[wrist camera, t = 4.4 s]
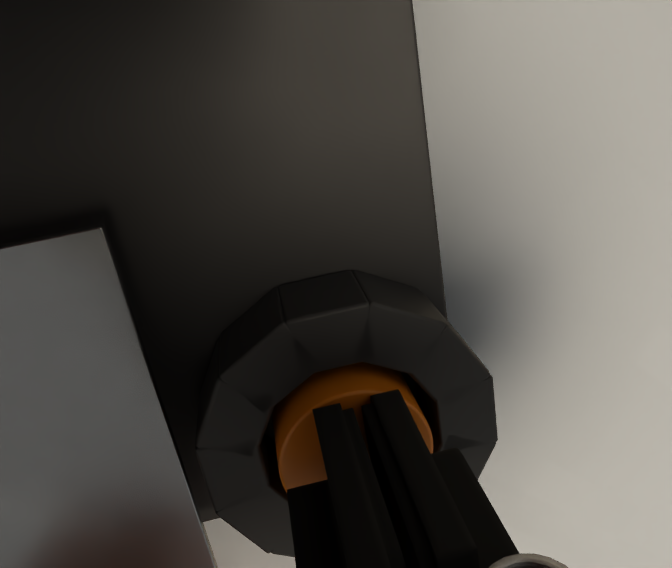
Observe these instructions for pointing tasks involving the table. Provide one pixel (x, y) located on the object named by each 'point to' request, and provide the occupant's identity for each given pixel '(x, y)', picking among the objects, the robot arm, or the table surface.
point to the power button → (323, 390)
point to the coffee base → (244, 211)
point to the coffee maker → (84, 420)
